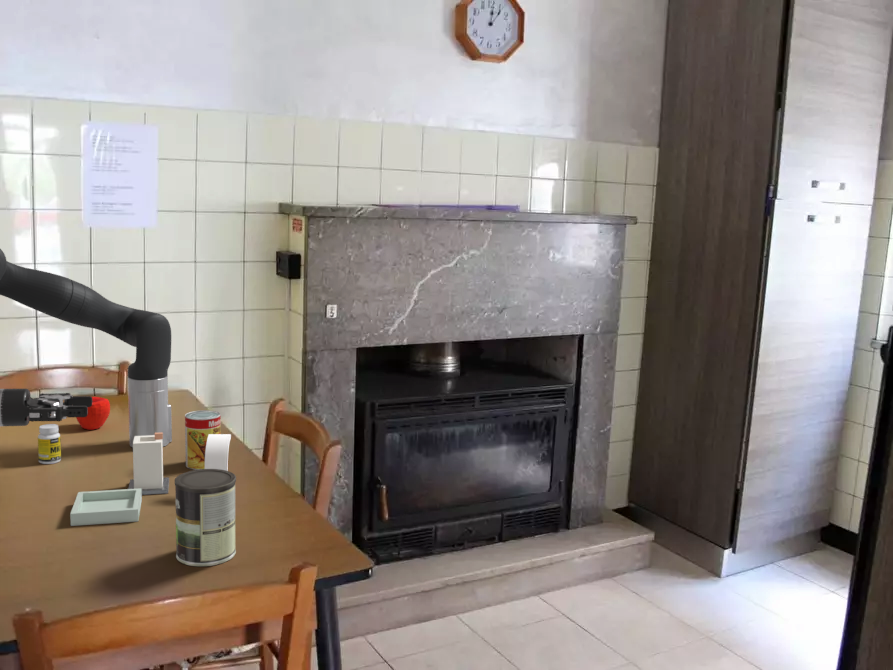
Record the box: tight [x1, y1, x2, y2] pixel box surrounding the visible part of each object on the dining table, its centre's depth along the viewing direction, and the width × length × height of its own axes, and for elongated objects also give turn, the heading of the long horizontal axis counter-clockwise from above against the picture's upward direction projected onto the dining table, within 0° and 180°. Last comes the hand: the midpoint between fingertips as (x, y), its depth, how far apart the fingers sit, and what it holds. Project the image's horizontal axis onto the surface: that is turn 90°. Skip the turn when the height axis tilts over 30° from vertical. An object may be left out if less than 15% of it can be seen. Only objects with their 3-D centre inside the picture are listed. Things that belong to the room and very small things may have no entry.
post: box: [127, 476, 170, 496], centre depth 183 cm, size 8×8×8 cm
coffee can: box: [174, 469, 237, 568], centre depth 151 cm, size 10×10×14 cm
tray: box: [69, 488, 143, 527], centre depth 170 cm, size 12×12×2 cm
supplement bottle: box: [37, 423, 62, 465], centre depth 198 cm, size 5×5×8 cm
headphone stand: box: [205, 433, 232, 471], centre depth 182 cm, size 5×6×12 cm
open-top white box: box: [132, 432, 164, 489], centre depth 183 cm, size 6×6×11 cm
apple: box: [75, 396, 111, 431], centre depth 226 cm, size 9×9×8 cm
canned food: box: [184, 409, 222, 471], centre depth 199 cm, size 8×8×12 cm
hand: (89, 406), depth 178 cm, fingers open, 8 cm apart
